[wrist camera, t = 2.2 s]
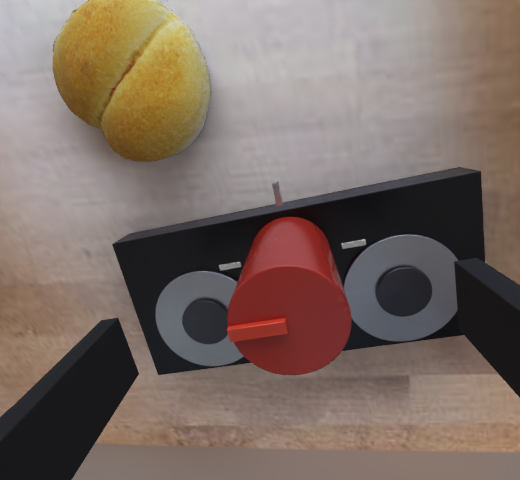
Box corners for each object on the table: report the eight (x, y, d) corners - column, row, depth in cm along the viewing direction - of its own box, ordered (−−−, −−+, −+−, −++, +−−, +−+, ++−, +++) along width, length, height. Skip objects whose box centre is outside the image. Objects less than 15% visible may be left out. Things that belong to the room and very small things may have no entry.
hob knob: (323, 209, 20) (342, 257, 12) (336, 284, 21) (361, 373, 13) (243, 225, 20) (211, 279, 13) (260, 296, 22) (241, 387, 14)
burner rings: (458, 223, 19) (463, 225, 19) (465, 330, 21) (470, 336, 21) (143, 279, 22) (139, 283, 22) (173, 369, 24) (171, 375, 23)
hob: (457, 138, 20) (481, 138, 18) (468, 312, 23) (490, 333, 21) (122, 210, 24) (101, 219, 21) (170, 353, 27) (157, 376, 24)
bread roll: (160, 183, 23) (133, 193, 19) (54, 82, 22) (3, 70, 18) (245, 87, 21) (234, 76, 17) (133, -32, 19) (93, -74, 16)
